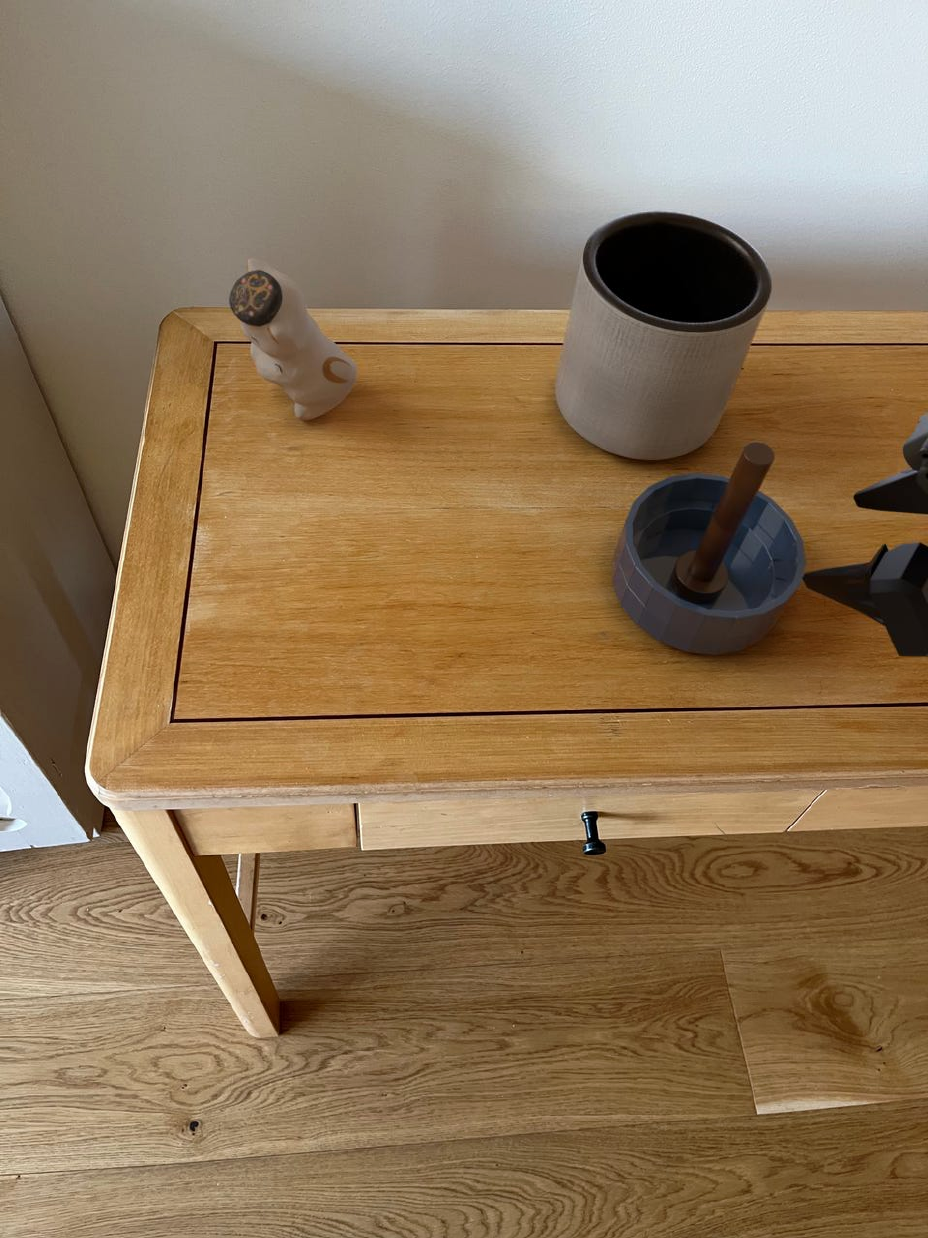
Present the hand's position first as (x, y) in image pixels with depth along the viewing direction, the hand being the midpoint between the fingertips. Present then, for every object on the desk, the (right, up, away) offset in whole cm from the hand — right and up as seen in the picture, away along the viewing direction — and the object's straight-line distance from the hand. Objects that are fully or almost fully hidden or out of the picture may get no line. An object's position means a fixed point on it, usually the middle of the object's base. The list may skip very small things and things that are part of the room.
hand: (831, 539), depth 66 cm
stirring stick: (-7, -3, +11) cm, 14 cm away
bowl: (-7, -3, +12) cm, 14 cm away
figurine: (-41, +14, +20) cm, 48 cm away
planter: (-10, +15, +23) cm, 29 cm away
